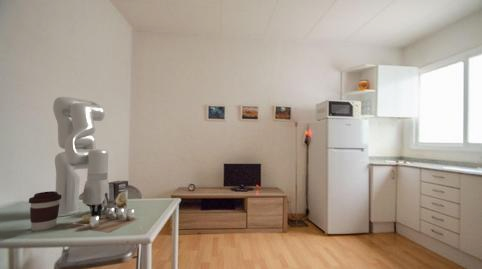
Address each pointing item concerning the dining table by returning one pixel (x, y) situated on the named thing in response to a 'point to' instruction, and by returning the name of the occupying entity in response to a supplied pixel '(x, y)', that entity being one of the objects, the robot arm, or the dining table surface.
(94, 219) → the spacer
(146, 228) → the dining table surface
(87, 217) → the nut
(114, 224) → the board
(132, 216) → the spacer
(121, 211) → the spacer
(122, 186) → the coffee box
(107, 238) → the dining table surface
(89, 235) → the dining table surface
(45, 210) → the coffee cup
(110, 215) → the spacer
